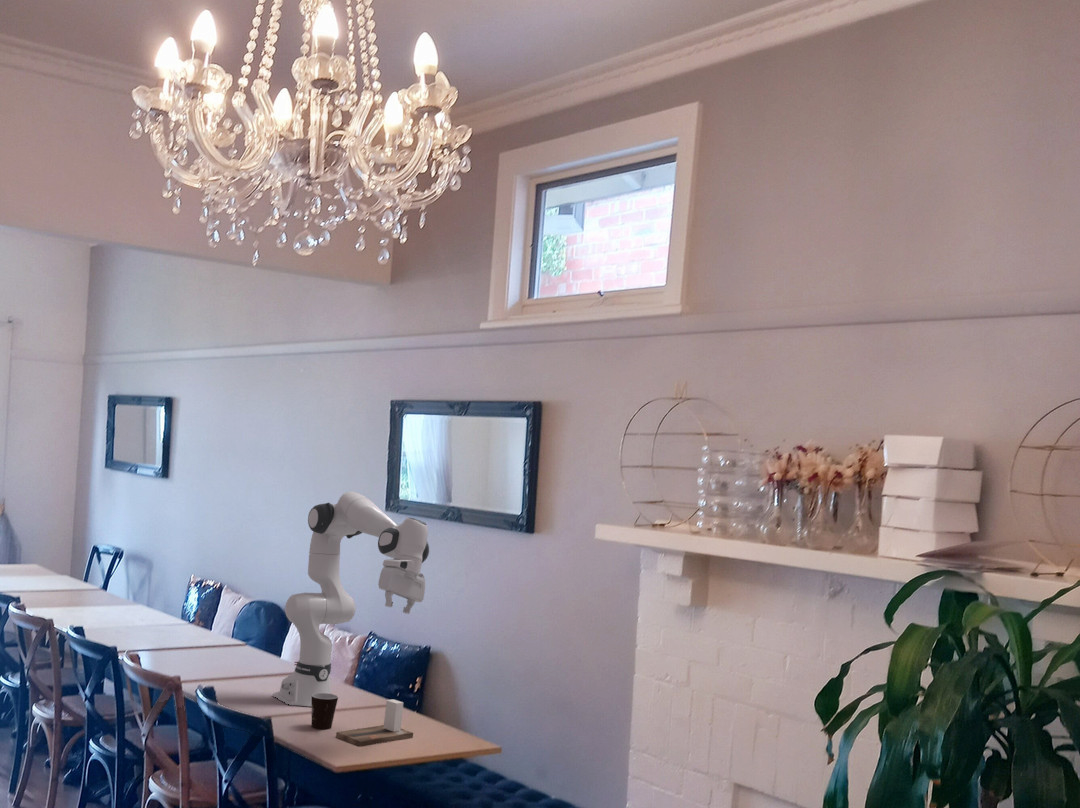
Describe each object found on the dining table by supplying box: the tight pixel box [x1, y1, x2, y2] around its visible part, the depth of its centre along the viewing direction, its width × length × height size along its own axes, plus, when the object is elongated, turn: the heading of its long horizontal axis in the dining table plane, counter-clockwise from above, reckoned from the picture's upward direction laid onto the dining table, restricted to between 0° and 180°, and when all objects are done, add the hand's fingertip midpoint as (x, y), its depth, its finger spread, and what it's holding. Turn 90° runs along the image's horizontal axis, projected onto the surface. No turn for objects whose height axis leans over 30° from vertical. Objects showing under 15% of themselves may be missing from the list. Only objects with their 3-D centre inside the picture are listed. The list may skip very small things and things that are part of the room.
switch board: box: [335, 724, 414, 747], centre depth 325 cm, size 12×22×2 cm, turn 139°
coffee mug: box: [311, 693, 339, 731], centre depth 330 cm, size 12×9×10 cm
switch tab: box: [383, 698, 404, 732], centre depth 330 cm, size 5×3×9 cm, turn 49°
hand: (397, 610), depth 321 cm, fingers open, 8 cm apart
